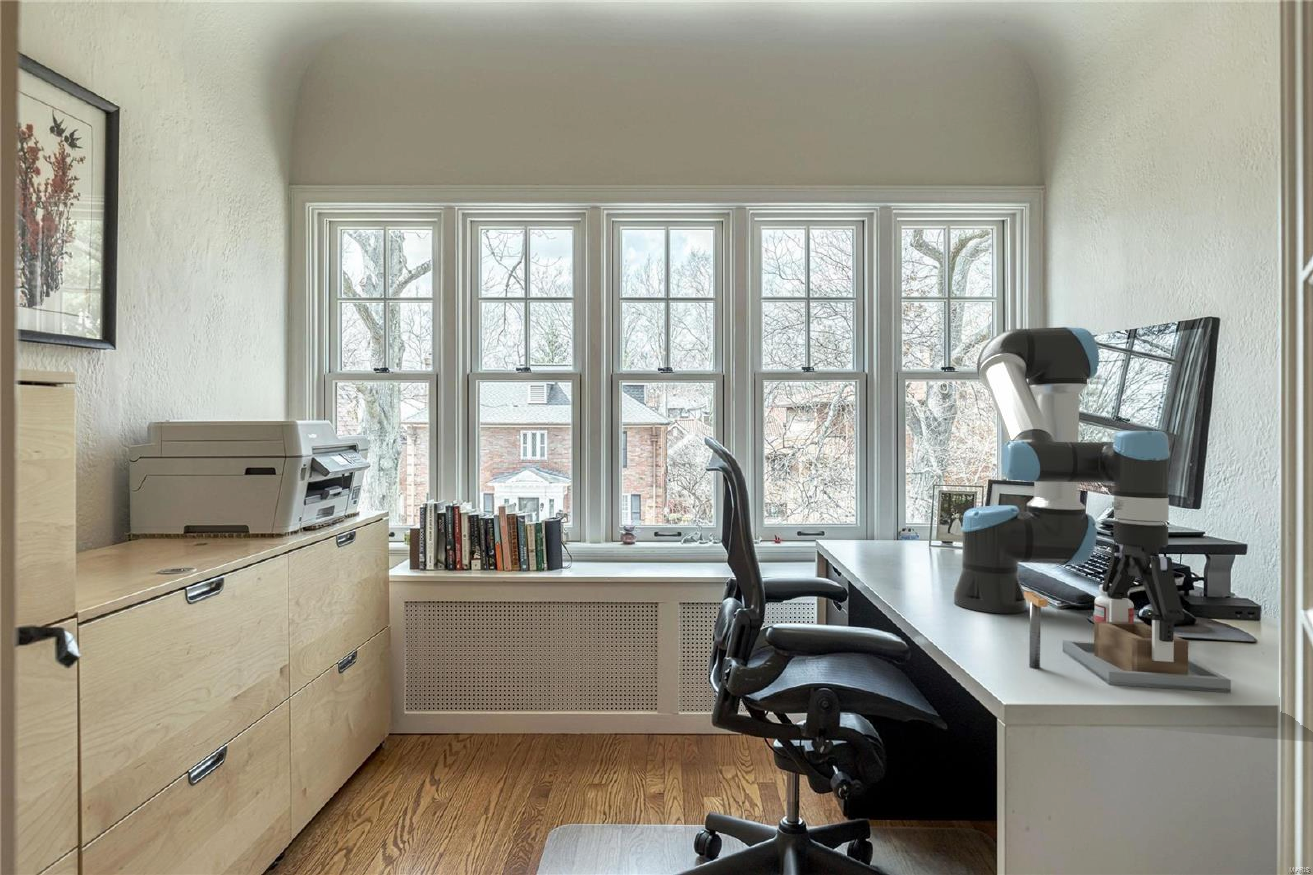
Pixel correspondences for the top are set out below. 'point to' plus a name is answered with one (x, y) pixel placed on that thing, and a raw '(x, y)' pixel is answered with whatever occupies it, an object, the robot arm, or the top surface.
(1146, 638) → the brown wooden open box
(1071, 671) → the top surface
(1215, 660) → the top surface
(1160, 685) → the tray
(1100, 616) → the pill bottle
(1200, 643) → the top surface
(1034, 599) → the t-shaped peg
